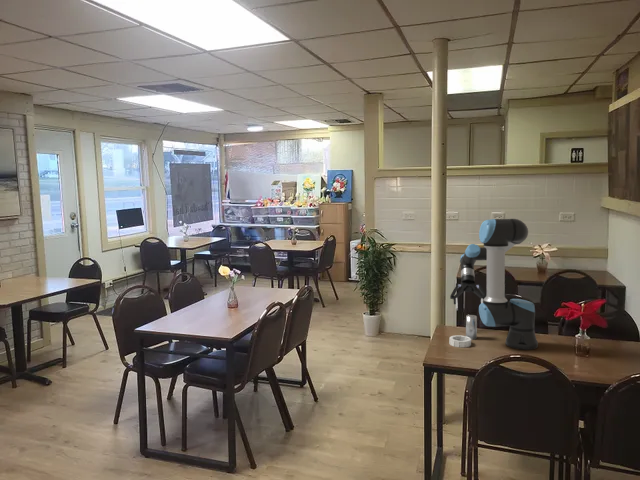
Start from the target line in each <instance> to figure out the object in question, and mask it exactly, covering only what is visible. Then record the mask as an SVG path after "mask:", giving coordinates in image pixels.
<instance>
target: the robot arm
mask: <svg viewBox="0 0 640 480" xmlns="http://www.w3.org/2000/svg"><path fill="white" fill-rule="evenodd" d="M528 235H529V228H528V227H527V225H526V223H524V222H523V221H522V220H520V219H518V218H490V219H486V220H485V219H484V221H483V222H482V223H481V224H480V227H479V232H478V236H479V237H478V238H479V242H480V243H482V244H483V246H482V247H480V246H479V245H478V244H475V243H471V244H469V245H467V247H466V249H465V250H464V253H463V254H461V255H460V260H459V263H460V278H461V279H460V283H461V284H459V283H455V287H454V289H453V291H452V292H451V294H450V295H449V296H450V298H449V299H452V300H453V305H455V310H456V311H458V310H459V309H458V305H459V304H458V298H459V297H460V296H461V295H462V294H464V293H473V294H475V295H476V297H478V298H479V299H480V304H479V306H478V313H479V318H480V320H481V322H482V324H483V325H484V326H486V327H493V328H494V327H495V328H496V327H509V330H508V333H507V335H506V338H505V345H506V346H507V347H510V348H512V349H517V350H525V351H527V350H530V351H531V350H535V349H537V348H538V347H539V346H538V345H539V343H538V340H537V337H536V336H537V335H536V332H535V317H536V308H535V304H534V303H533V302H532V301H528V300H526V299H521V298H511V299H510V300H509V301H508V299H507V298H506V295H505V294H506V293H505V290H506V289H505V287H506V286H505V285H506V283H505V280H506V278H505V275H506V271H505V269H506V267H505V266H506V264H505V263H506V252H508V251H510V250H511V249H513V247H515V246H516V245H519V244H522V243H523V242H525V241H526V239H527V238H528ZM478 261H486V291H485V290H484V288H483V287H482V284H481V283H479V284H476V279H475V263H476V262H478ZM459 288H460V289H459ZM476 288H477V289H476ZM457 291H458V292H457Z"/></svg>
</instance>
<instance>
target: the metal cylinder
mask: <svg viewBox="0 0 640 480" xmlns="http://www.w3.org/2000/svg"><path fill="white" fill-rule="evenodd" d="M477 321H478V316H477V315H475V314H467V315H465V336H467V337H470V338H471V341H472V340H473V341H474V340H477V333H478V332H477V331H478V330H477V329H478V327H477V326H478V323H477Z"/></svg>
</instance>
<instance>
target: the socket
mask: <svg viewBox="0 0 640 480" xmlns="http://www.w3.org/2000/svg"><path fill="white" fill-rule="evenodd" d="M449 345H450V346H452V347H455V348H469V347H471V346H472V340H471V338H470V337H467V336H466V335H458V334H457V335H451V336H449Z"/></svg>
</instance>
